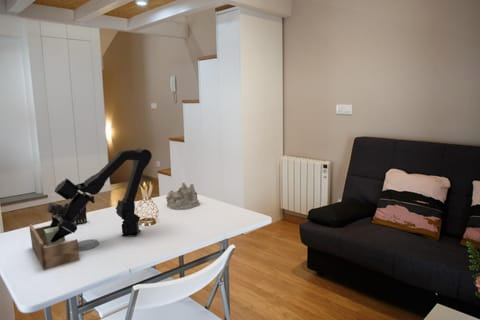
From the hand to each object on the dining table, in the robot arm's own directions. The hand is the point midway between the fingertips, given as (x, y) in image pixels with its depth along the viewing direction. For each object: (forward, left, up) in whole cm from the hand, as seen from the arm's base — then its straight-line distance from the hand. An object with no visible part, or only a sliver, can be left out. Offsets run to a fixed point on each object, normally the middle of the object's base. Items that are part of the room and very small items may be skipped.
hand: (49, 238), depth 145 cm
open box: (-1, -1, -7) cm, 7 cm away
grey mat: (-10, -8, -7) cm, 15 cm away
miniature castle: (-42, -62, -7) cm, 75 cm away
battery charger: (+4, -35, -7) cm, 36 cm away
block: (-1, -1, -7) cm, 7 cm away
